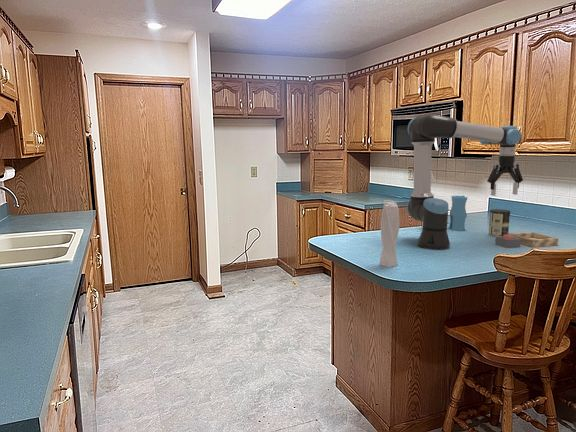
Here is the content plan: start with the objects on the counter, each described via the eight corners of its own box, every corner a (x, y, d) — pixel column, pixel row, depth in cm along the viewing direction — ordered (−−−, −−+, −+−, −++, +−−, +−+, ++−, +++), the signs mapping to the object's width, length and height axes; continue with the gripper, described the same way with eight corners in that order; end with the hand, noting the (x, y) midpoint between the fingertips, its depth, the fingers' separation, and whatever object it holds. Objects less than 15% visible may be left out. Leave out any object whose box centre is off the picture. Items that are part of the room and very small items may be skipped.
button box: (506, 247, 211) (507, 239, 210) (495, 244, 219) (495, 236, 218) (520, 246, 213) (520, 239, 212) (508, 243, 221) (509, 235, 220)
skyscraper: (388, 268, 176) (391, 200, 171) (374, 264, 182) (377, 199, 177) (401, 265, 180) (404, 199, 176) (387, 261, 186) (390, 197, 182)
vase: (465, 231, 252) (467, 197, 249) (451, 230, 253) (453, 197, 250) (462, 228, 260) (464, 195, 256) (448, 228, 261) (450, 195, 257)
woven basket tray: (531, 247, 212) (532, 240, 212) (507, 240, 228) (508, 233, 227) (557, 245, 216) (558, 238, 216) (532, 238, 232) (533, 232, 231)
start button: (507, 244, 213) (507, 236, 212) (500, 242, 217) (501, 234, 217) (514, 243, 214) (515, 236, 214) (508, 241, 218) (508, 234, 218)
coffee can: (505, 233, 244) (507, 209, 242) (510, 237, 234) (513, 212, 232) (485, 233, 246) (487, 208, 244) (490, 236, 236) (492, 211, 234)
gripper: (491, 156, 222) (488, 196, 226) (532, 155, 228) (529, 194, 231) (481, 155, 230) (479, 195, 233) (521, 154, 235) (518, 193, 239)
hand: (504, 195), depth 232 cm, fingers open, 13 cm apart
